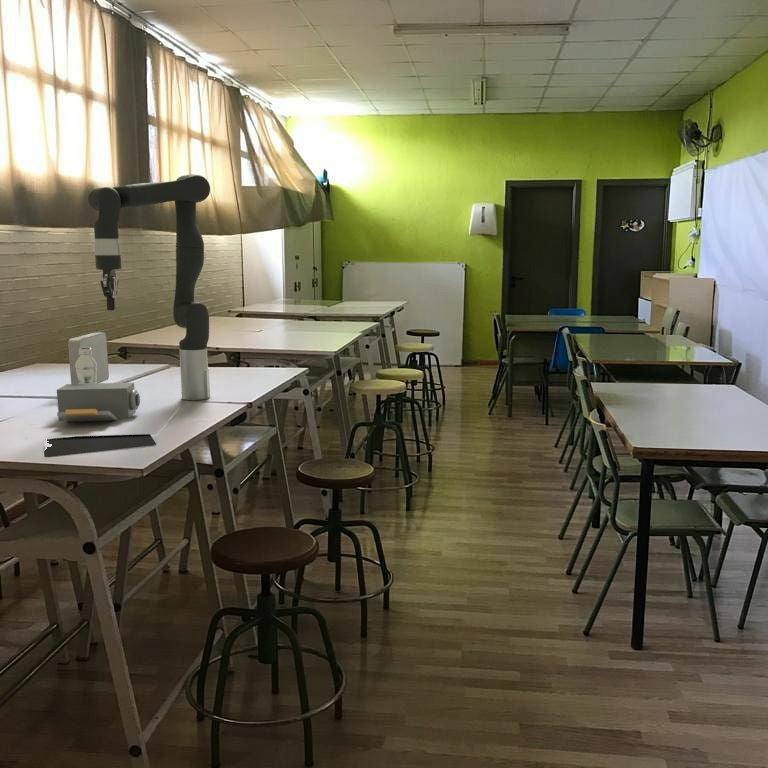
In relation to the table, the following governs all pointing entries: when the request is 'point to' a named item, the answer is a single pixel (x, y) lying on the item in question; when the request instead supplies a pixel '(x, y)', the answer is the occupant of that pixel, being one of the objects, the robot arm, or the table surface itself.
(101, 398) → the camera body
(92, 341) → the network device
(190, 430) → the table surface
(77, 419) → the side door
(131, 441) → the tablet
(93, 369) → the plastic bottle
